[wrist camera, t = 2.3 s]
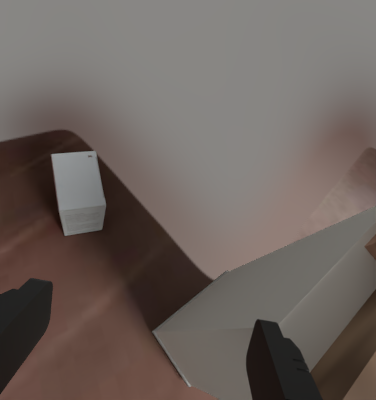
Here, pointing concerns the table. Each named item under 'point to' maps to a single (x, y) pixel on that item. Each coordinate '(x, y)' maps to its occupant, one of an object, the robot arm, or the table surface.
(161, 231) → the table surface
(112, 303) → the table surface
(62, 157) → the small box
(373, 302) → the mallet
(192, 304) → the pedestal
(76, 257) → the table surface
